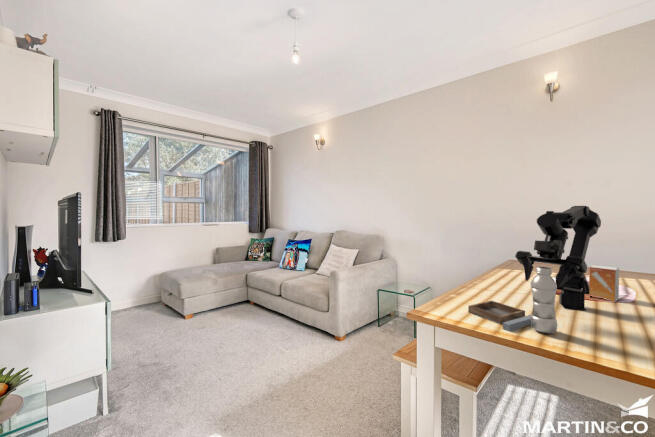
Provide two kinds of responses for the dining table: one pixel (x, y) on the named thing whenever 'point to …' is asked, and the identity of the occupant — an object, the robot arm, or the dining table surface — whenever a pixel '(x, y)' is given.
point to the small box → (604, 282)
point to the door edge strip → (517, 323)
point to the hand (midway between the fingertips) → (542, 283)
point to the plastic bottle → (543, 301)
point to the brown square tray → (496, 311)
